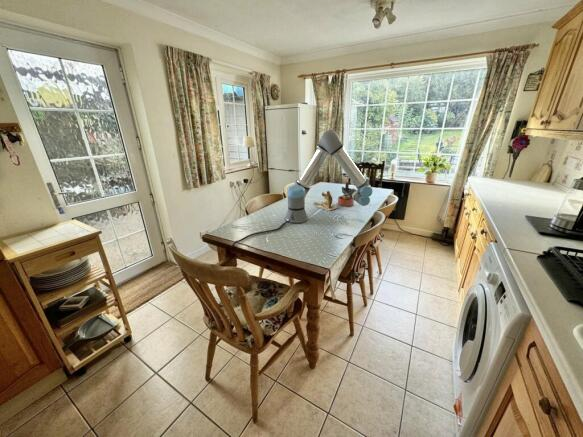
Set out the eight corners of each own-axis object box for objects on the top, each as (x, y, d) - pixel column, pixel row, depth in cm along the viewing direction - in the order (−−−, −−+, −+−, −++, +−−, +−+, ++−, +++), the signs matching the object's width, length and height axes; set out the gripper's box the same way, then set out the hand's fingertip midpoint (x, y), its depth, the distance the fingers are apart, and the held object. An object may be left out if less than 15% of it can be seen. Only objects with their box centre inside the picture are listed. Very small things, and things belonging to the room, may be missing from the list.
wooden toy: (338, 208, 187) (339, 191, 182) (329, 211, 181) (330, 194, 176) (319, 202, 204) (320, 186, 199) (310, 204, 198) (311, 188, 193)
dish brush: (349, 201, 194) (351, 182, 188) (344, 202, 193) (346, 182, 187) (347, 199, 199) (348, 181, 193) (342, 200, 198) (343, 181, 193)
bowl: (343, 207, 189) (344, 201, 187) (334, 203, 200) (334, 196, 198) (357, 205, 194) (357, 198, 192) (347, 201, 205) (347, 194, 203)
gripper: (345, 201, 176) (335, 193, 198) (365, 199, 179) (352, 191, 200) (346, 191, 173) (335, 184, 195) (366, 190, 176) (353, 183, 197)
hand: (344, 188), depth 198 cm, fingers closed on dish brush, 3 cm apart
